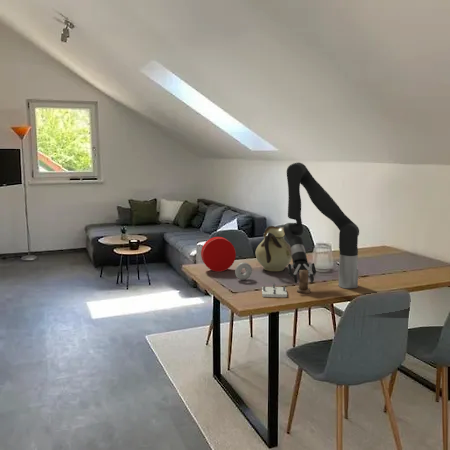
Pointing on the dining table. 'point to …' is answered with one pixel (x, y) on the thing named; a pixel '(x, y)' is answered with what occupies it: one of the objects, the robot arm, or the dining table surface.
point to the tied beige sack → (274, 250)
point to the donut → (247, 273)
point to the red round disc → (218, 254)
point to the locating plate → (274, 291)
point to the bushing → (303, 282)
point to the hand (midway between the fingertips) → (304, 282)
